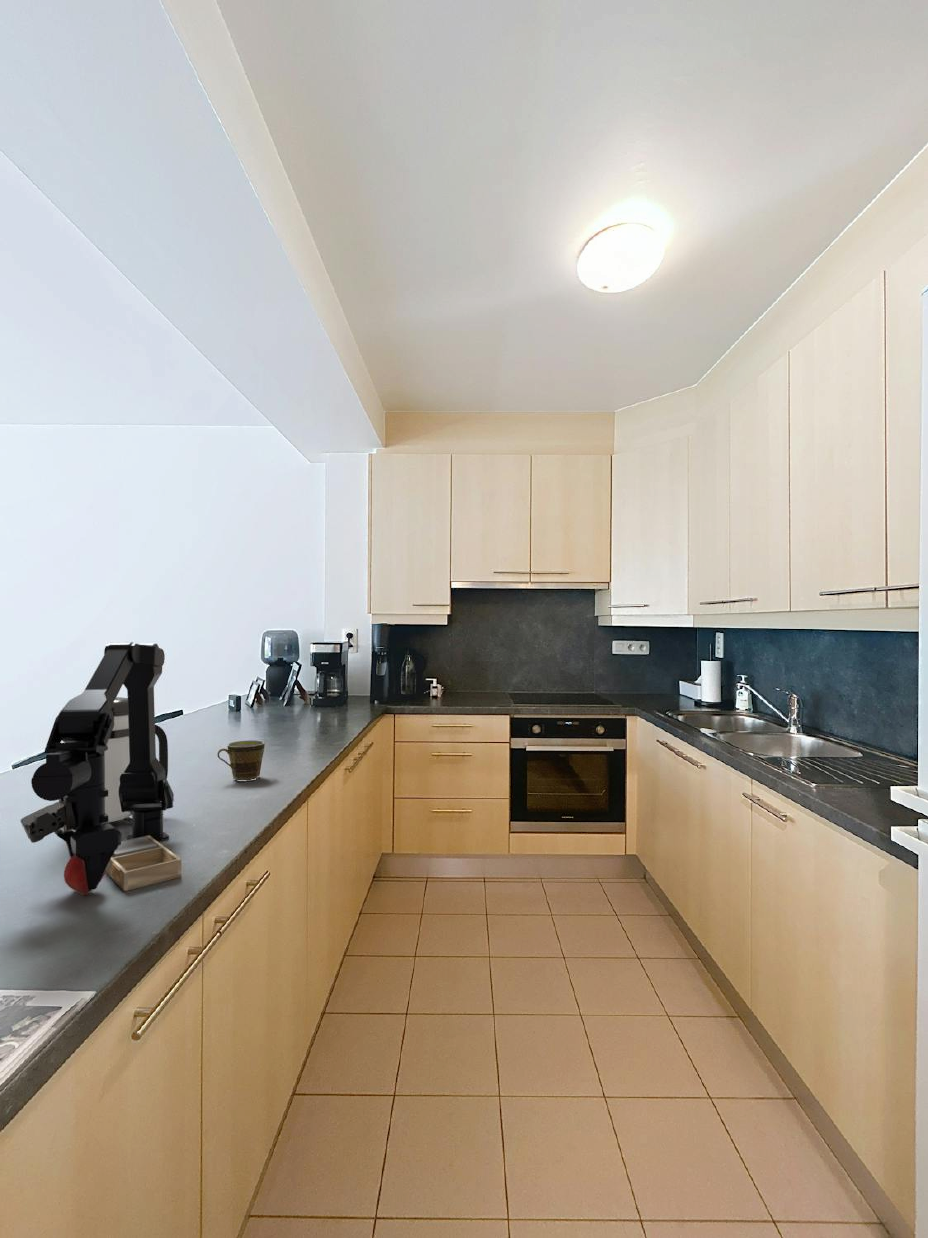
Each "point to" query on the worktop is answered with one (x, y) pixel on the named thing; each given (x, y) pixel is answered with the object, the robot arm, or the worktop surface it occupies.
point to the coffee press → (123, 759)
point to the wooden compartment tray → (142, 863)
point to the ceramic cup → (245, 758)
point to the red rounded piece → (76, 875)
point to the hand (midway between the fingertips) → (85, 881)
